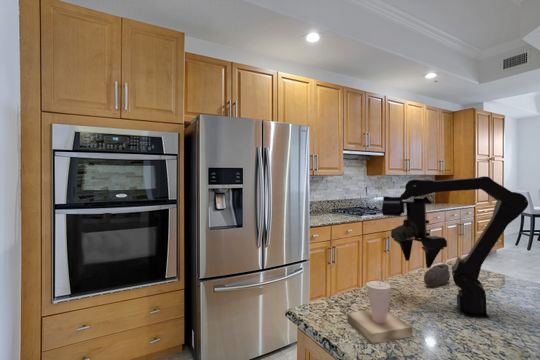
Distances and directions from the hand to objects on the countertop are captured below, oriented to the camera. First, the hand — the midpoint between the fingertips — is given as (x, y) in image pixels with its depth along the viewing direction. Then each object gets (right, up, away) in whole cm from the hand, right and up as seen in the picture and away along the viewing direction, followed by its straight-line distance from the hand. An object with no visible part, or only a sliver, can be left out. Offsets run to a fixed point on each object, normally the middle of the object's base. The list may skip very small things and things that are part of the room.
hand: (417, 264), depth 94 cm
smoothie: (-19, -11, -16) cm, 27 cm away
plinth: (-19, -13, -16) cm, 28 cm away
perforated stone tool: (+16, -13, +17) cm, 27 cm away
